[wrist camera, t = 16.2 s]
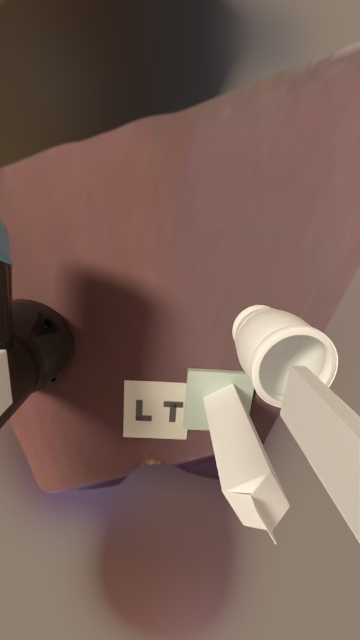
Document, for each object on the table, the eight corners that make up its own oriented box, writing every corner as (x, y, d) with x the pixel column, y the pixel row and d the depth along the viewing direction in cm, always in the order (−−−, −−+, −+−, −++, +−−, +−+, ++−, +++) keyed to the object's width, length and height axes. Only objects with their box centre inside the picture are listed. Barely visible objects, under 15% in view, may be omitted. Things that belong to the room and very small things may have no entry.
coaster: (182, 425, 51) (182, 429, 50) (187, 368, 48) (188, 370, 47) (244, 428, 52) (246, 431, 51) (254, 371, 48) (256, 374, 47)
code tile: (124, 433, 52) (123, 437, 51) (125, 377, 49) (124, 380, 48) (186, 435, 53) (186, 439, 52) (191, 380, 49) (191, 383, 48)
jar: (272, 363, 48) (316, 417, 34) (217, 349, 47) (238, 398, 32) (296, 307, 45) (354, 339, 31) (238, 290, 44) (271, 316, 30)
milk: (232, 382, 48) (283, 495, 27) (246, 408, 49) (304, 534, 28) (201, 397, 48) (227, 520, 27) (216, 422, 50) (251, 556, 29)
